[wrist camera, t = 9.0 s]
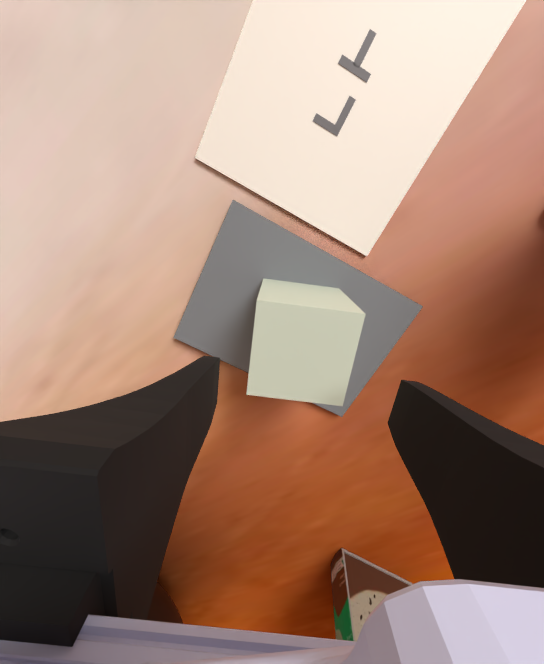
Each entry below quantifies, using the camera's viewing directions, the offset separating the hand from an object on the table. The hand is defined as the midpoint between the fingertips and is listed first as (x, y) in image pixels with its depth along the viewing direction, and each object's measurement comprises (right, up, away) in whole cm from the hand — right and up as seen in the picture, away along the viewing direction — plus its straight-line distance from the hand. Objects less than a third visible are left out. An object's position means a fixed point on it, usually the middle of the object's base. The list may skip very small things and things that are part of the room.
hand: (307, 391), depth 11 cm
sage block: (0, +3, +8) cm, 9 cm away
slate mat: (0, +3, +9) cm, 9 cm away
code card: (+3, +16, +4) cm, 17 cm away
